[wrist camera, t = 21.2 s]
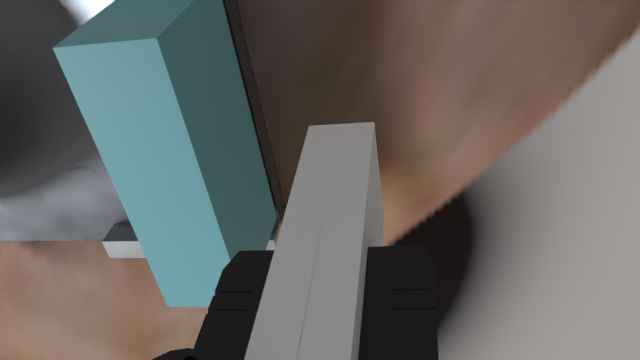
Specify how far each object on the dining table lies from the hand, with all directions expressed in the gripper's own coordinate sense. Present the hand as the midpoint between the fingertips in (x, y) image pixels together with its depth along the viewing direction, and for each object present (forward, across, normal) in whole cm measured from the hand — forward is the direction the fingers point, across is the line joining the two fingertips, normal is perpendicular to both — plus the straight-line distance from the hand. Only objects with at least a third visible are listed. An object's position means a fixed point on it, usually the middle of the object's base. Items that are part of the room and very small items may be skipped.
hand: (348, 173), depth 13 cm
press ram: (+7, -6, -2) cm, 10 cm away
